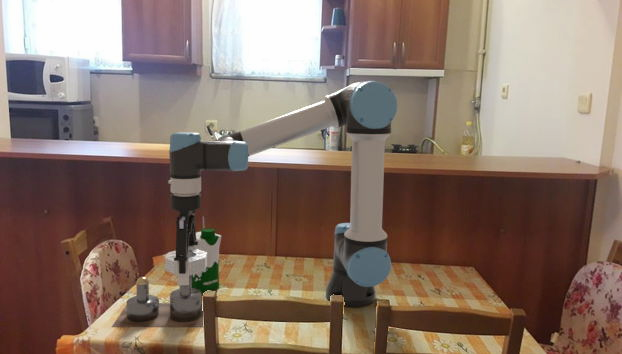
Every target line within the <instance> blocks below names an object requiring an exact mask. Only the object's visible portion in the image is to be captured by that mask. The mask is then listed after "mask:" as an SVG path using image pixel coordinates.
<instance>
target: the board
mask: <svg viewBox="0 0 622 354" xmlns="http://www.w3.org/2000/svg"><path fill="white" fill-rule="evenodd" d="M111 328H204V327H203V311H202V302H201V316H200V318H198V319H197V320H194V321H191V322H176V321H173V320H172V319H171V318H170V302H169V303H168V302H166V303H165V302H159V315H158V317H157V318H155V319H153V320H150V321H147V322H132V321H130V320H128V319H127V304H126V305H125V306H124V308H123V309H122V311H121V312H120V313H119V315H118V317H117V319H115V321H114V322H113V324H112V326H111Z"/></svg>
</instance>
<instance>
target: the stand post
mask: <svg viewBox="0 0 622 354" xmlns="http://www.w3.org/2000/svg"><path fill="white" fill-rule="evenodd" d="M169 303H170V318H171V319H172V320H173V321H176V322H191V321H194V320H197V319H198V318H200V316H201V303H202V294H201V291H199V290H198V289H194V288H192V275H189V285H179V288H178V289H175V290H173V291H171V292H170V293H169Z"/></svg>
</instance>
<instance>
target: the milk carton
mask: <svg viewBox="0 0 622 354" xmlns="http://www.w3.org/2000/svg"><path fill="white" fill-rule="evenodd" d="M221 240H222V235H221V234H217V233H216V230H215V228H210V227H208V228H207V227H205V229H203V228H202V229H201V230H200V231H196V241H198V245H193V246H195V249H199V250H202V251H205V252H207V267H206V270H205V271H203V272H199V273H196V274H193V275H192V288H194V289H198V290H199V291H201V295H204V294H205V293H204V292H205V291H207V290H213V291H216V290H218V289H219V288H220V275H219V274H220V272H219V271H220V270H219V269H220V246H221ZM203 293H204V294H203Z"/></svg>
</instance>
